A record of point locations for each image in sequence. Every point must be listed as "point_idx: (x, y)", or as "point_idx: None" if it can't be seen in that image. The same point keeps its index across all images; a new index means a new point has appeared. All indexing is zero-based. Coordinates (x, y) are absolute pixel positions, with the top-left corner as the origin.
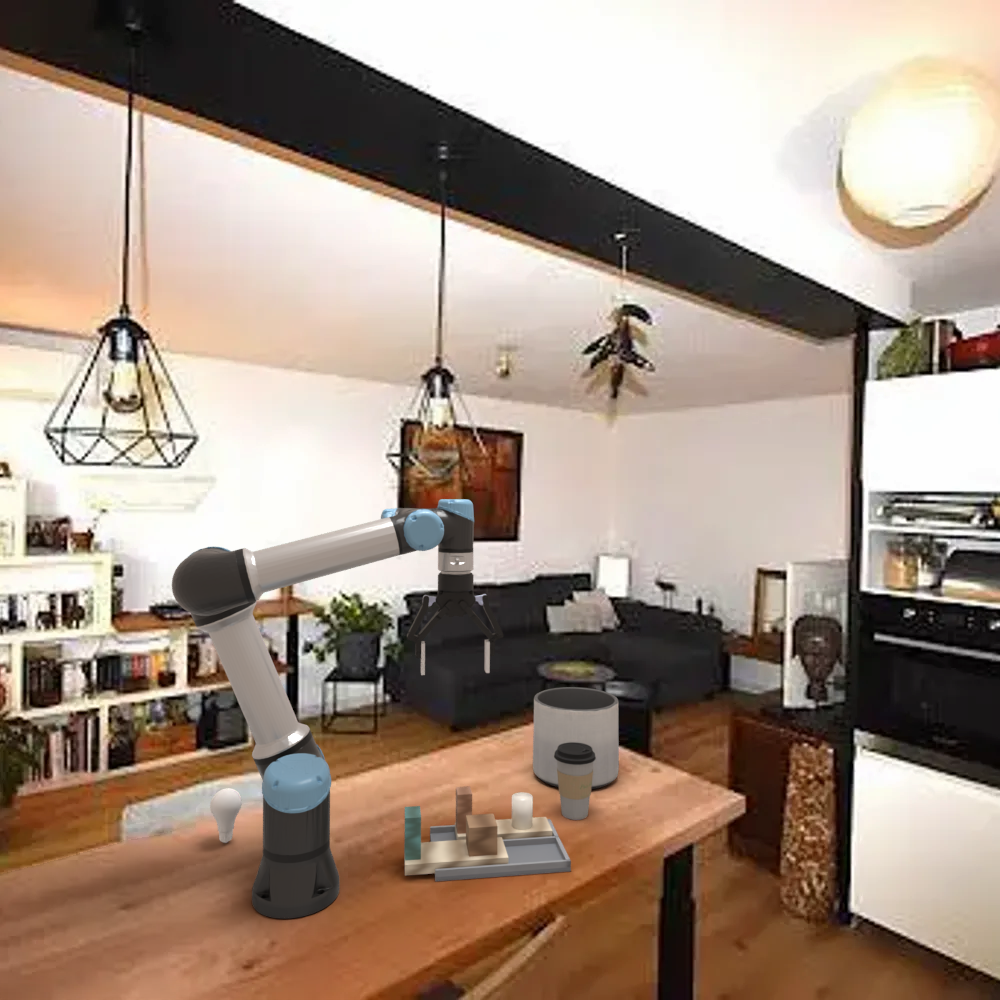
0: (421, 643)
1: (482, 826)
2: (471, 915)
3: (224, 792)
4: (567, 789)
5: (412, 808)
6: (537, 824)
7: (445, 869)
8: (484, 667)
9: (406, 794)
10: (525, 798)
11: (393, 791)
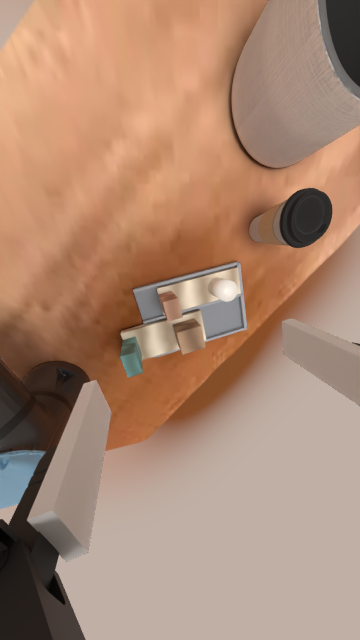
0: (62, 555)
1: (193, 350)
2: (183, 382)
3: None
4: (269, 241)
5: (129, 358)
6: None
7: (161, 354)
8: (287, 324)
9: (73, 182)
10: (230, 295)
11: (50, 171)
